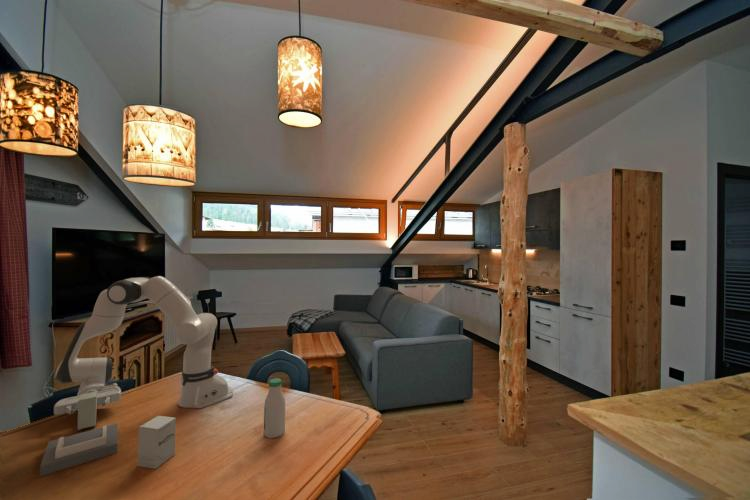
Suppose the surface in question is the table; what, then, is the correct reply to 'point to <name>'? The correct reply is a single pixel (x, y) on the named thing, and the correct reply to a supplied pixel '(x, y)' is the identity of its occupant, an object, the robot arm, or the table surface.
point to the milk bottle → (274, 410)
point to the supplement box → (156, 441)
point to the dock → (79, 449)
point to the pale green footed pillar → (87, 410)
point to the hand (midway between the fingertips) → (88, 408)
